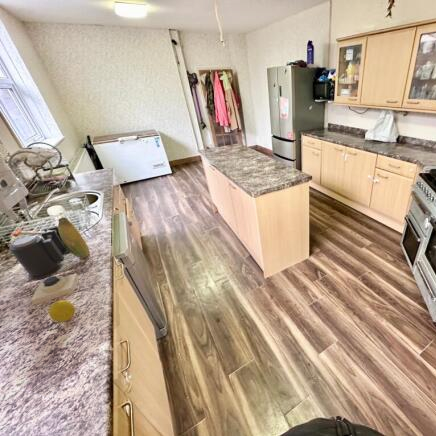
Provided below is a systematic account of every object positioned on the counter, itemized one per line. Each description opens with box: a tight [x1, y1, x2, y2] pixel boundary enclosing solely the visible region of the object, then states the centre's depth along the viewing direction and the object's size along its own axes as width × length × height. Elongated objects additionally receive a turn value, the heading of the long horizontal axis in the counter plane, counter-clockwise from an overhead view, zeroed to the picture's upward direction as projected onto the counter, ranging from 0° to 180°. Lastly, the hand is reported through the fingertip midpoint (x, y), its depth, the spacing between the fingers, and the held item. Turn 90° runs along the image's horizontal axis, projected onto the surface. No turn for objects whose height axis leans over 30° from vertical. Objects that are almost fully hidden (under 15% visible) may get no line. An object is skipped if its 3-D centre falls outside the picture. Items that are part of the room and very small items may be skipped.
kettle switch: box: [12, 228, 56, 238], centre depth 100 cm, size 12×5×2 cm, turn 119°
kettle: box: [8, 235, 65, 282], centre depth 92 cm, size 12×10×16 cm
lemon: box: [48, 299, 76, 323], centre depth 72 cm, size 6×6×8 cm
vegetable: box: [57, 216, 90, 259], centre depth 98 cm, size 6×6×20 cm
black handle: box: [40, 225, 72, 256], centre depth 105 cm, size 12×9×12 cm
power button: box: [42, 275, 59, 287], centre depth 84 cm, size 4×4×2 cm
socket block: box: [30, 272, 80, 306], centre depth 85 cm, size 11×9×4 cm
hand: (20, 213), depth 91 cm, fingers open, 8 cm apart
